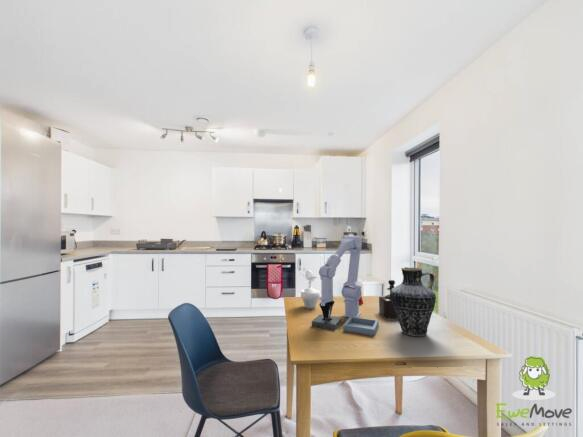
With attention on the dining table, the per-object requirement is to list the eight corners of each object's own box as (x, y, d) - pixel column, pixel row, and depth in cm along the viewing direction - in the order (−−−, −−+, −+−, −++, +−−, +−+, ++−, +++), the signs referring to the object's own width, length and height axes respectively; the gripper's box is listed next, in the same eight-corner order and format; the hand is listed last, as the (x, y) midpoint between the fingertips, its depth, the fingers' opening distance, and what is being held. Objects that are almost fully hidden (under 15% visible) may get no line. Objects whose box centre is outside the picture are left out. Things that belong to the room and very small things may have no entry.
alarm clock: (349, 300, 180) (343, 289, 194) (348, 309, 181) (342, 297, 196) (366, 299, 181) (358, 288, 195) (365, 308, 182) (358, 297, 197)
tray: (350, 322, 150) (350, 316, 150) (378, 326, 144) (378, 320, 144) (343, 331, 137) (343, 325, 137) (374, 336, 131) (374, 329, 131)
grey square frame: (319, 319, 155) (319, 314, 155) (341, 322, 150) (341, 317, 150) (311, 326, 144) (311, 321, 144) (335, 330, 139) (335, 324, 139)
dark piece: (405, 318, 156) (405, 284, 156) (385, 318, 156) (385, 284, 156) (394, 309, 172) (393, 279, 172) (375, 309, 171) (375, 279, 171)
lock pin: (324, 321, 149) (324, 304, 149) (332, 322, 148) (332, 305, 148) (322, 324, 146) (322, 306, 146) (329, 325, 144) (329, 307, 144)
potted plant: (298, 305, 180) (298, 264, 181) (315, 303, 184) (315, 264, 184) (305, 311, 168) (305, 267, 169) (323, 309, 172) (323, 267, 172)
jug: (408, 343, 123) (407, 272, 124) (382, 327, 142) (381, 266, 143) (448, 338, 129) (447, 270, 129) (418, 323, 148) (417, 264, 148)
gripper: (324, 286, 155) (324, 311, 155) (314, 291, 142) (314, 319, 142) (336, 287, 152) (336, 313, 152) (328, 293, 139) (328, 322, 139)
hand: (327, 316), depth 147 cm, fingers closed on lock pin, 4 cm apart
